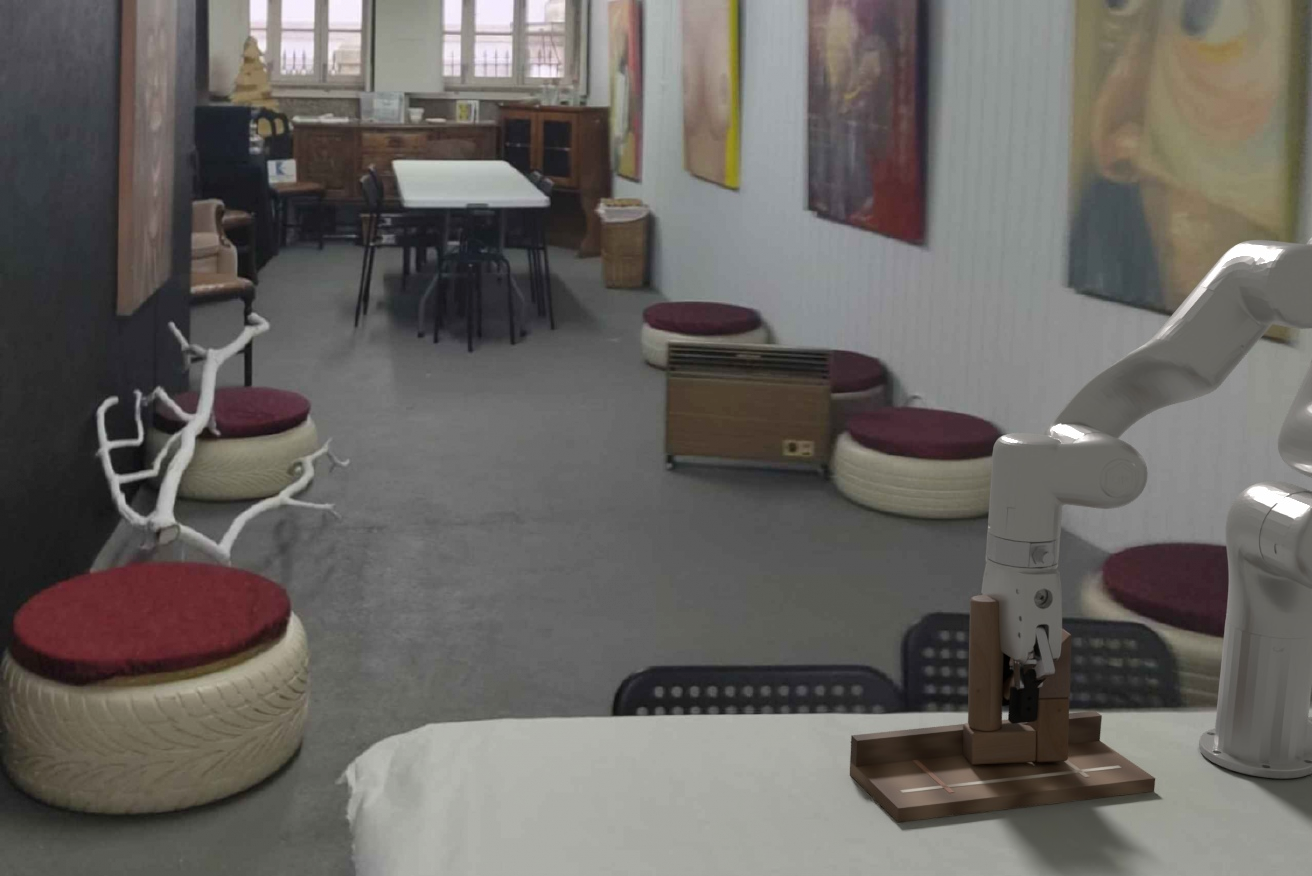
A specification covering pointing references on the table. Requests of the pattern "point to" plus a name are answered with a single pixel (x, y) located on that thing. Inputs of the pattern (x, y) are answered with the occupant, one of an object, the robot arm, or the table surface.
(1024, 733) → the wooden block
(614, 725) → the table surface
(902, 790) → the marking board
